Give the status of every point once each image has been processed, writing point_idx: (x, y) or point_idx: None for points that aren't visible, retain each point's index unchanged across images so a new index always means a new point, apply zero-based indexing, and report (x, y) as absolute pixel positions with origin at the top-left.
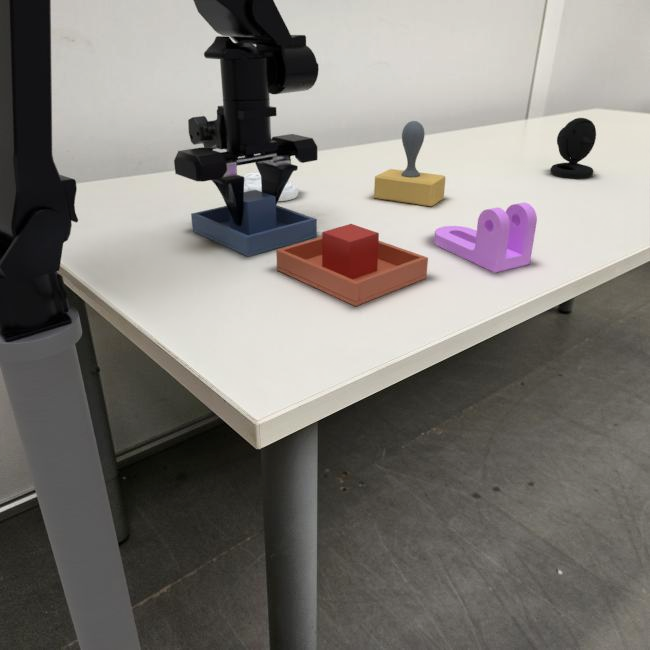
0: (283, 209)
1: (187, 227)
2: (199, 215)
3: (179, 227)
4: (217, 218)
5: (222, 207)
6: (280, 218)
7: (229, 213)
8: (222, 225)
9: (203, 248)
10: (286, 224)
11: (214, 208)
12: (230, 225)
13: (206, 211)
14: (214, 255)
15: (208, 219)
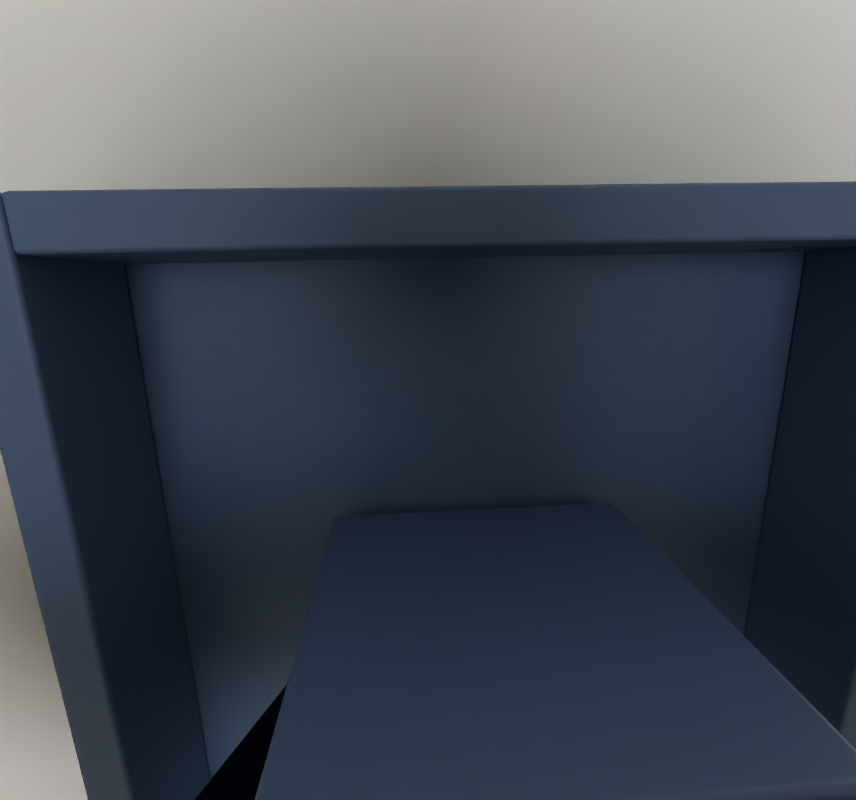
0: (847, 698)
1: (97, 67)
2: (13, 352)
3: (22, 3)
4: (343, 257)
5: (434, 224)
6: (776, 586)
7: (310, 601)
8: (110, 777)
9: (27, 629)
10: (741, 633)
11: (320, 197)
12: (329, 533)
13: (168, 246)
14: (46, 765)
15: (55, 554)
